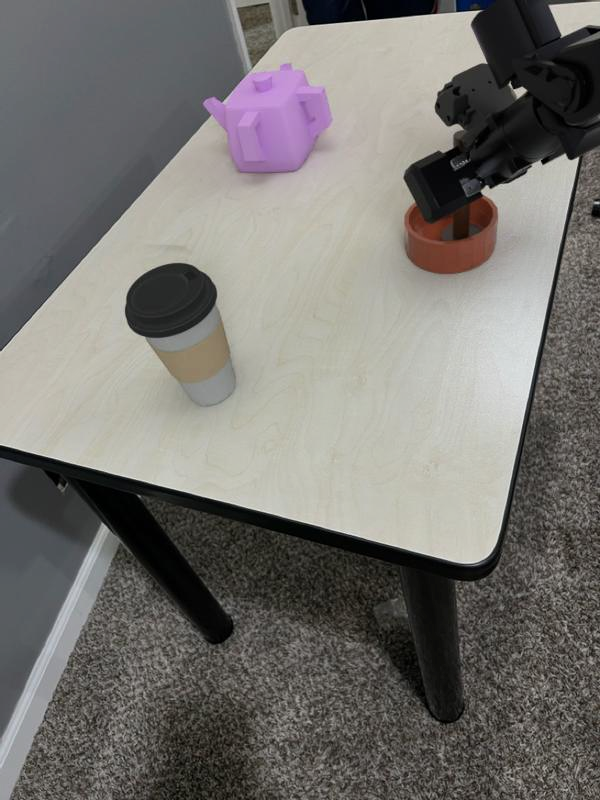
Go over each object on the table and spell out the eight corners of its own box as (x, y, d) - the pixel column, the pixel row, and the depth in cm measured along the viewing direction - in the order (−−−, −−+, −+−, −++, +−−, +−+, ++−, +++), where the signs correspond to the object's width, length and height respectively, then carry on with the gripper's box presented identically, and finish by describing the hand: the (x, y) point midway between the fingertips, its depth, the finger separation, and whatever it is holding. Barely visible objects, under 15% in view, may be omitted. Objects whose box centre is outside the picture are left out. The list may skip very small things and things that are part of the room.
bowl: (477, 210, 80) (478, 180, 77) (509, 260, 73) (512, 229, 70) (396, 232, 81) (393, 203, 77) (420, 283, 74) (419, 253, 70)
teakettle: (256, 191, 94) (235, 114, 85) (215, 152, 105) (192, 79, 95) (348, 148, 97) (337, 68, 88) (298, 114, 108) (284, 40, 98)
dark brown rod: (489, 237, 75) (496, 129, 64) (463, 258, 73) (465, 151, 63) (458, 223, 78) (459, 118, 67) (432, 243, 76) (429, 139, 66)
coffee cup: (265, 367, 70) (229, 266, 58) (222, 429, 65) (174, 332, 54) (201, 349, 74) (155, 251, 62) (156, 406, 69) (98, 311, 58)
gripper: (571, 10, 57) (487, 93, 72) (409, 87, 53) (357, 157, 69) (620, 118, 58) (527, 177, 73) (465, 200, 54) (401, 244, 70)
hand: (454, 187), depth 71 cm, fingers closed on dark brown rod
